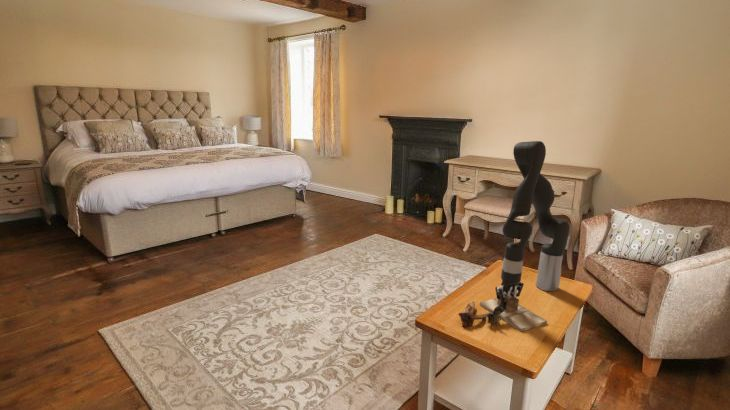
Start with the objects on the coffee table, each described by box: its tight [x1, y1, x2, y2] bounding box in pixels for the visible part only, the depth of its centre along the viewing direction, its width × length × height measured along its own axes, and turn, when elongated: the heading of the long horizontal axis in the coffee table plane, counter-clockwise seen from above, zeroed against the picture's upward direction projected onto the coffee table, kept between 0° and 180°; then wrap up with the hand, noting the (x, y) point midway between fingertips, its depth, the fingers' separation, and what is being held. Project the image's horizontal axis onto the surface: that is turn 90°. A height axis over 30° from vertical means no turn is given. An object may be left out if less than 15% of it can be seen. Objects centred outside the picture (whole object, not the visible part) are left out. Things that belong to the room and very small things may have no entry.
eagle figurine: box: [484, 305, 505, 327], centre depth 153 cm, size 8×7×9 cm
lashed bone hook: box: [458, 300, 486, 328], centre depth 156 cm, size 9×5×18 cm
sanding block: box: [497, 292, 520, 313], centre depth 161 cm, size 4×7×5 cm, turn 28°
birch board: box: [479, 297, 548, 332], centre depth 160 cm, size 14×22×1 cm, turn 27°
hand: (506, 307), depth 162 cm, fingers closed on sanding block, 4 cm apart
